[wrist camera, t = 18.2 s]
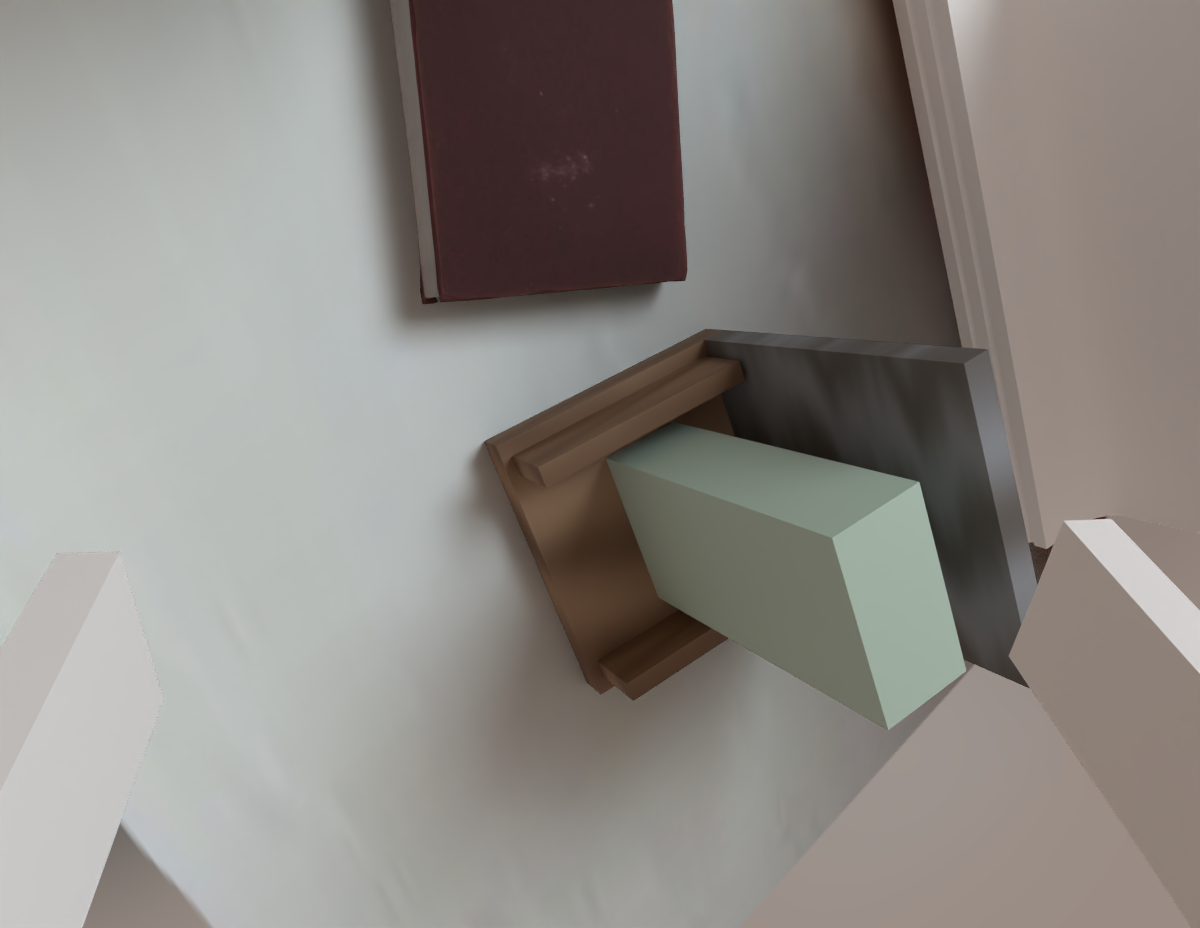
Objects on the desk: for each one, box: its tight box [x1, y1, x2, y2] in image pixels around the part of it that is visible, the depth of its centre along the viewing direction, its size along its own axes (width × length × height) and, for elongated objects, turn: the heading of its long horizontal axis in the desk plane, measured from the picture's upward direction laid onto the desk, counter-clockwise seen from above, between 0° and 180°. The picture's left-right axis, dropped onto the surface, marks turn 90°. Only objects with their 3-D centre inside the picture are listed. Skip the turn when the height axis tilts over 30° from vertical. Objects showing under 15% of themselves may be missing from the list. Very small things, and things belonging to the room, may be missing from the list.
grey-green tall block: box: [606, 422, 966, 730], centre depth 39 cm, size 8×4×16 cm, turn 23°
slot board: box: [485, 329, 1037, 701], centre depth 40 cm, size 14×13×18 cm
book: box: [389, 0, 687, 304], centre depth 40 cm, size 13×19×3 cm, turn 6°
